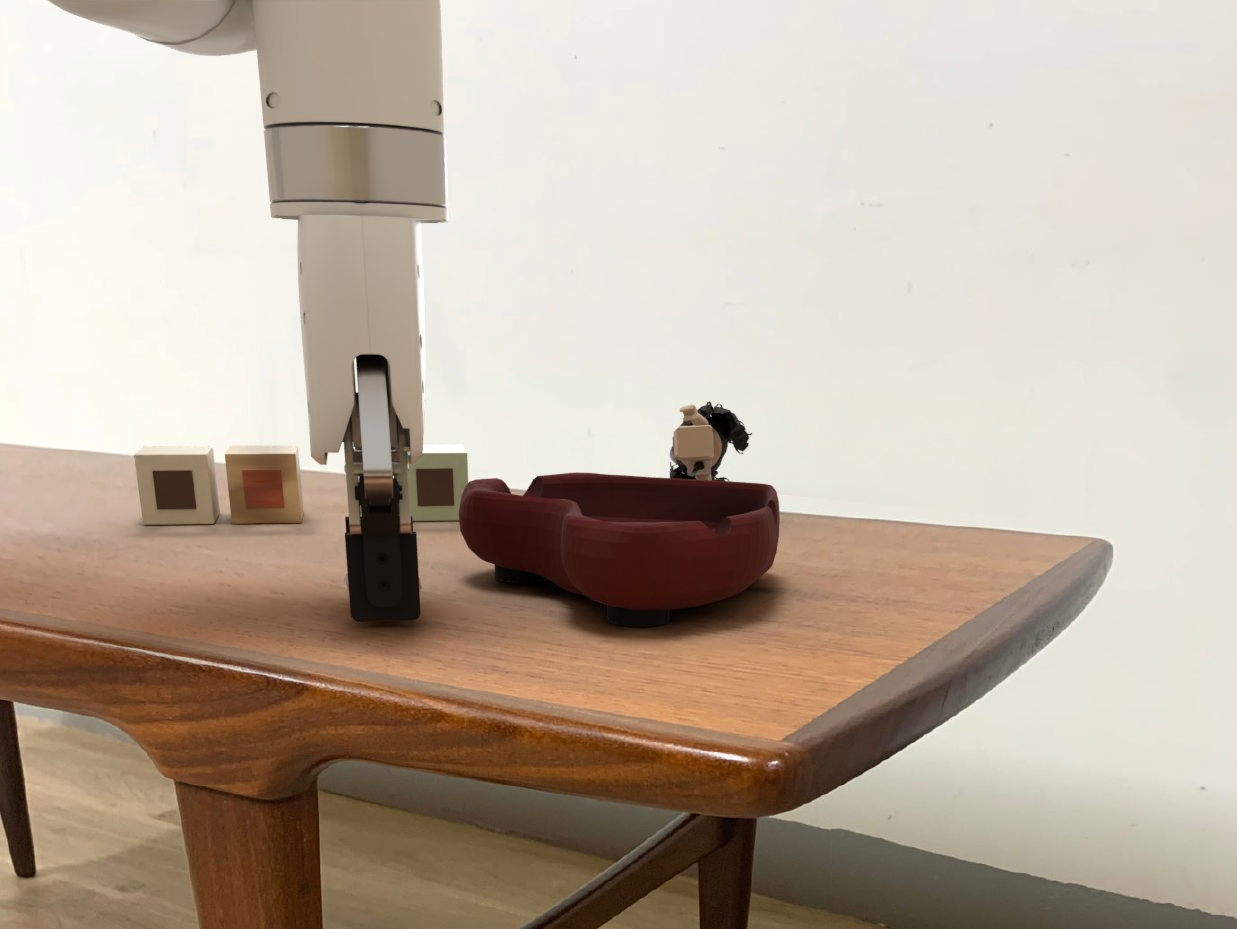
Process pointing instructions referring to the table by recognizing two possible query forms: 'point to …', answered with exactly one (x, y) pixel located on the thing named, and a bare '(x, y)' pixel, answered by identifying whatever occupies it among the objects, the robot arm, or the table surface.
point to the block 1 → (177, 485)
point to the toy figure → (705, 441)
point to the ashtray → (626, 538)
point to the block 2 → (264, 484)
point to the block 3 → (438, 483)
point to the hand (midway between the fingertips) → (384, 604)
